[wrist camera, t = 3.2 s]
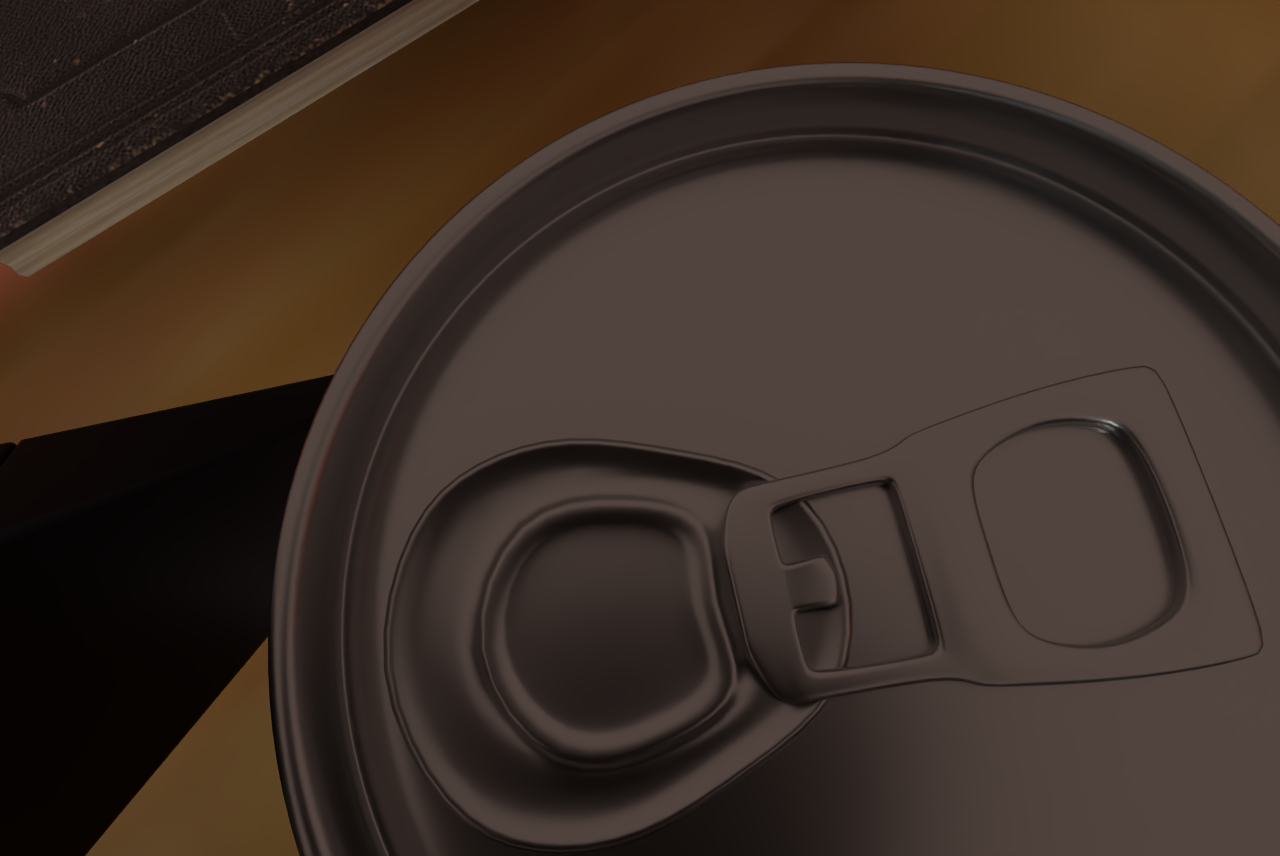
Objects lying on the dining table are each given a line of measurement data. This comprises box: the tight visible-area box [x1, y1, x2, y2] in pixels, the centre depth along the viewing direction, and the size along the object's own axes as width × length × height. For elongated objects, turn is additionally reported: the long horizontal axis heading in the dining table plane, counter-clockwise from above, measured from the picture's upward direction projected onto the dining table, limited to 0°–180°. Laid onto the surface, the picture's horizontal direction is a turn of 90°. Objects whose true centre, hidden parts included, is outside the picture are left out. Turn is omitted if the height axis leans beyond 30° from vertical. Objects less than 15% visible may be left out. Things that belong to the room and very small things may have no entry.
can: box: [268, 62, 1280, 856], centre depth 9 cm, size 6×6×12 cm
